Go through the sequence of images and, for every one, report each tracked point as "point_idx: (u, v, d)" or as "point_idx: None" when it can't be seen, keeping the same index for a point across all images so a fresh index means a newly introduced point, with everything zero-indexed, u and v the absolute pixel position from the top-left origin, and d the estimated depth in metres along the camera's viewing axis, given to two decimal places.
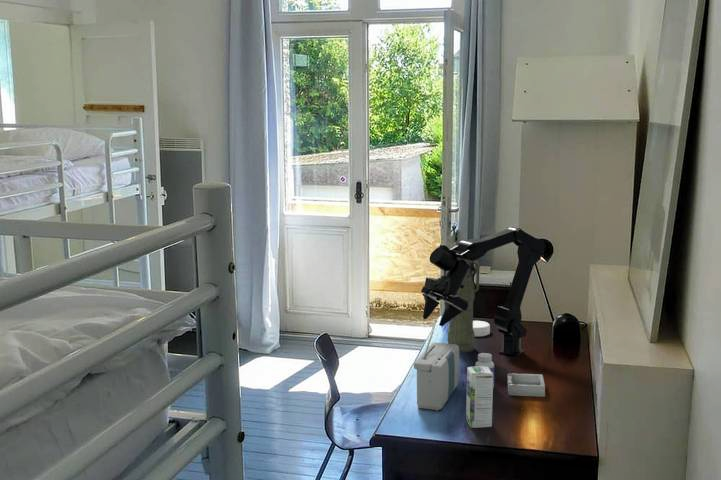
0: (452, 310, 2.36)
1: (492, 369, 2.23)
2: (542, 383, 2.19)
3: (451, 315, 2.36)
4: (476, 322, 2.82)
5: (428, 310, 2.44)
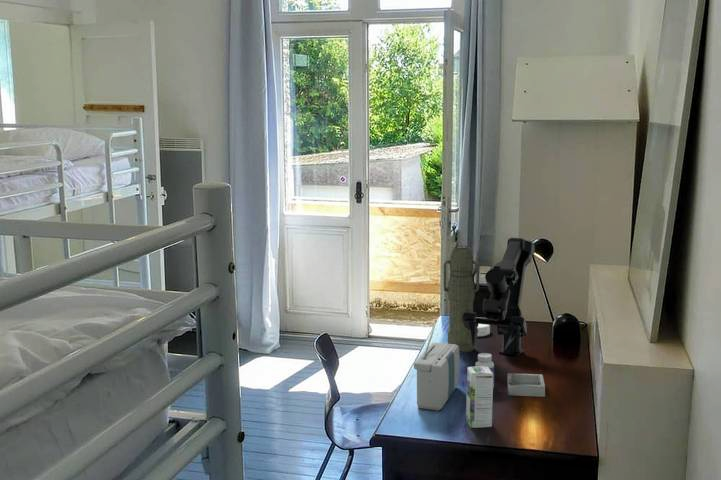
0: (511, 333, 2.28)
1: (492, 369, 2.23)
2: (542, 383, 2.19)
3: (511, 338, 2.28)
4: None
5: (475, 337, 2.31)
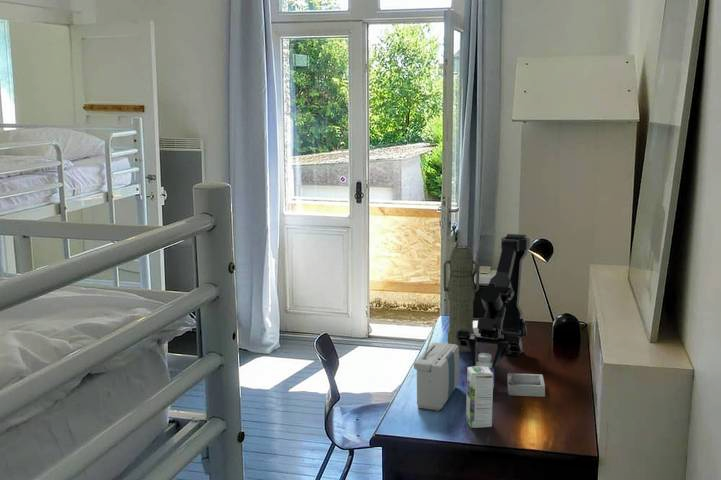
0: None
1: (492, 369, 2.23)
2: (542, 383, 2.19)
3: (501, 356, 2.25)
4: (476, 322, 2.82)
5: (475, 356, 2.26)
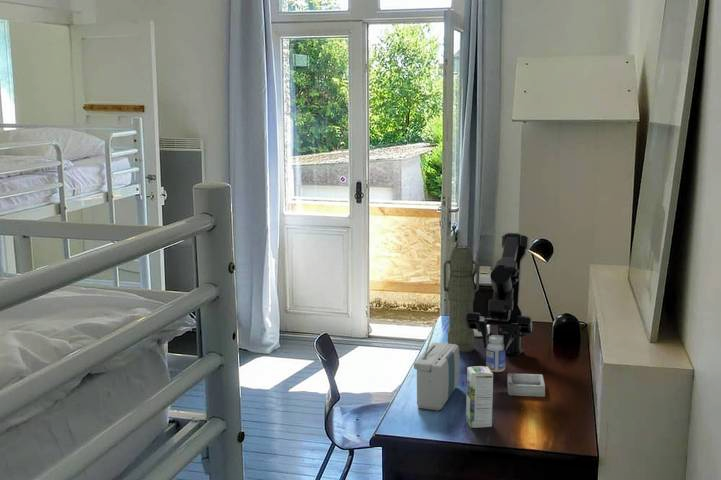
0: None
1: (503, 351, 2.21)
2: (542, 383, 2.19)
3: (512, 338, 2.23)
4: None
5: (486, 339, 2.24)
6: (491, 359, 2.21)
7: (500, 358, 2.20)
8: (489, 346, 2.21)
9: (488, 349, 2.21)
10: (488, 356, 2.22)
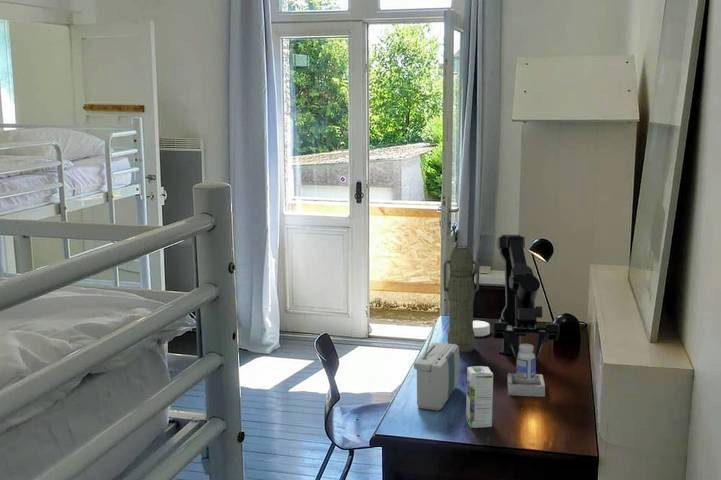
0: None
1: (535, 359, 2.20)
2: (542, 383, 2.19)
3: (541, 345, 2.23)
4: (476, 322, 2.82)
5: (516, 348, 2.22)
6: (524, 368, 2.19)
7: (532, 367, 2.19)
8: (521, 355, 2.19)
9: (520, 358, 2.19)
10: (520, 365, 2.20)
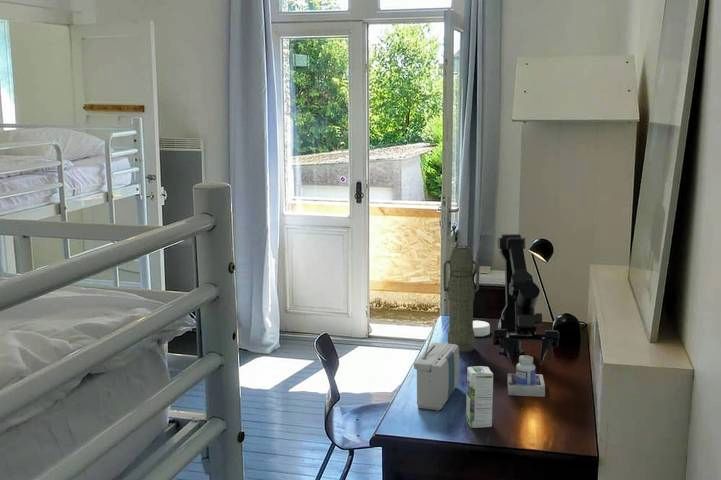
0: None
1: (534, 371, 2.21)
2: (542, 383, 2.19)
3: (544, 352, 2.23)
4: (476, 322, 2.82)
5: (512, 355, 2.22)
6: (523, 379, 2.20)
7: (532, 378, 2.20)
8: (521, 367, 2.20)
9: (520, 370, 2.20)
10: (520, 377, 2.20)
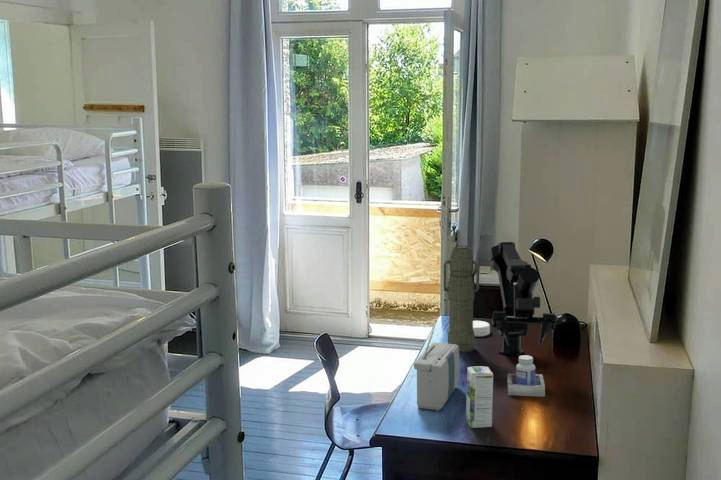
0: None
1: (534, 371, 2.21)
2: (542, 383, 2.19)
3: (544, 335, 2.31)
4: (476, 322, 2.82)
5: (508, 336, 2.31)
6: (523, 379, 2.20)
7: (532, 378, 2.20)
8: (520, 367, 2.20)
9: (520, 370, 2.20)
10: (520, 377, 2.20)
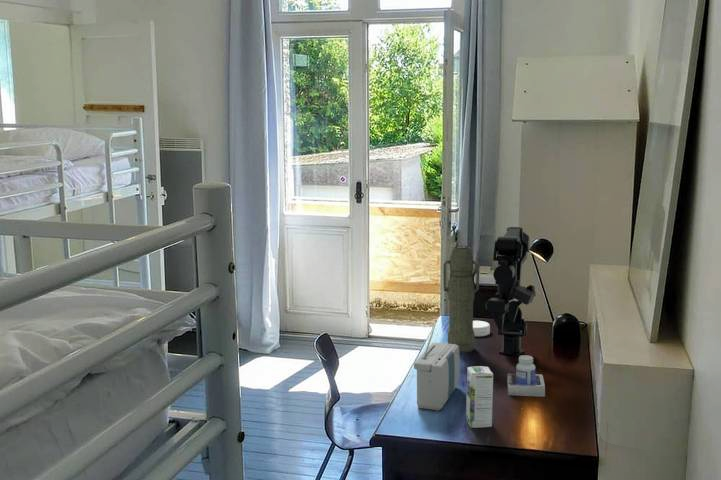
0: None
1: (534, 371, 2.21)
2: (542, 383, 2.19)
3: None
4: (476, 322, 2.82)
5: None
6: (523, 379, 2.20)
7: (532, 378, 2.20)
8: (521, 367, 2.20)
9: (520, 370, 2.20)
10: (520, 377, 2.20)
